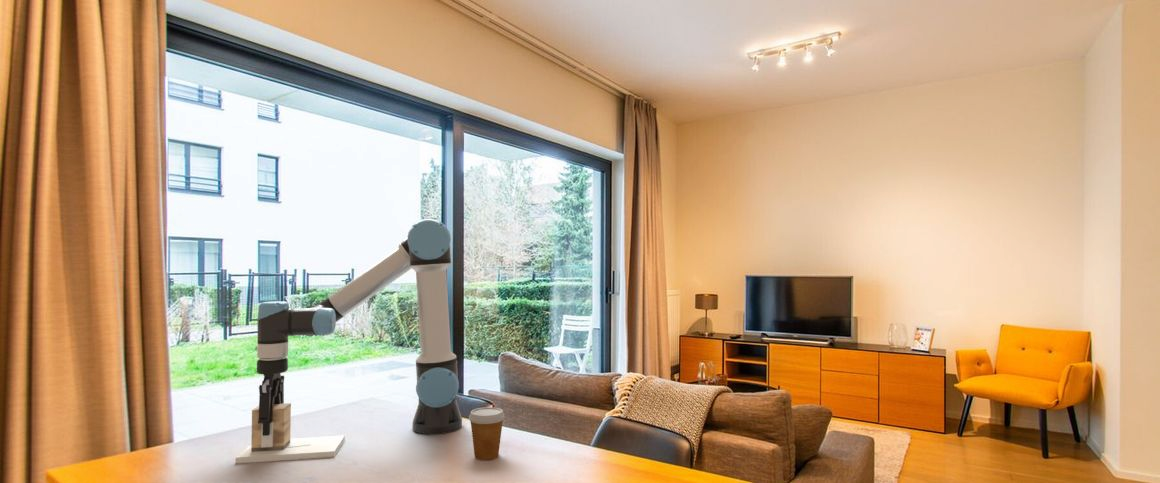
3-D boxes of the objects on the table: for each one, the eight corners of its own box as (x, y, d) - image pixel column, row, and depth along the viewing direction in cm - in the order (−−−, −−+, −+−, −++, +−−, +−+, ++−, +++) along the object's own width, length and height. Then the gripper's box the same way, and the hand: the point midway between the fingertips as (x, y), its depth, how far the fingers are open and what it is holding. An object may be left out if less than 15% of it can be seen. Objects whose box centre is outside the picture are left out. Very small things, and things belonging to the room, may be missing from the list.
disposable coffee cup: (510, 452, 156) (510, 408, 157) (494, 464, 147) (494, 417, 148) (479, 448, 159) (479, 405, 160) (461, 460, 150) (462, 414, 151)
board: (344, 440, 167) (344, 435, 167) (334, 456, 153) (334, 451, 153) (254, 446, 162) (254, 440, 162) (235, 463, 148) (235, 457, 148)
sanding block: (290, 442, 160) (290, 403, 160) (283, 449, 154) (284, 408, 154) (259, 444, 158) (259, 404, 159) (251, 451, 152) (252, 410, 153)
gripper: (269, 352, 166) (267, 433, 165) (244, 364, 147) (243, 455, 146) (297, 352, 167) (295, 431, 166) (276, 363, 148) (274, 453, 148)
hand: (271, 442), depth 156 cm, fingers closed on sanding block, 6 cm apart
